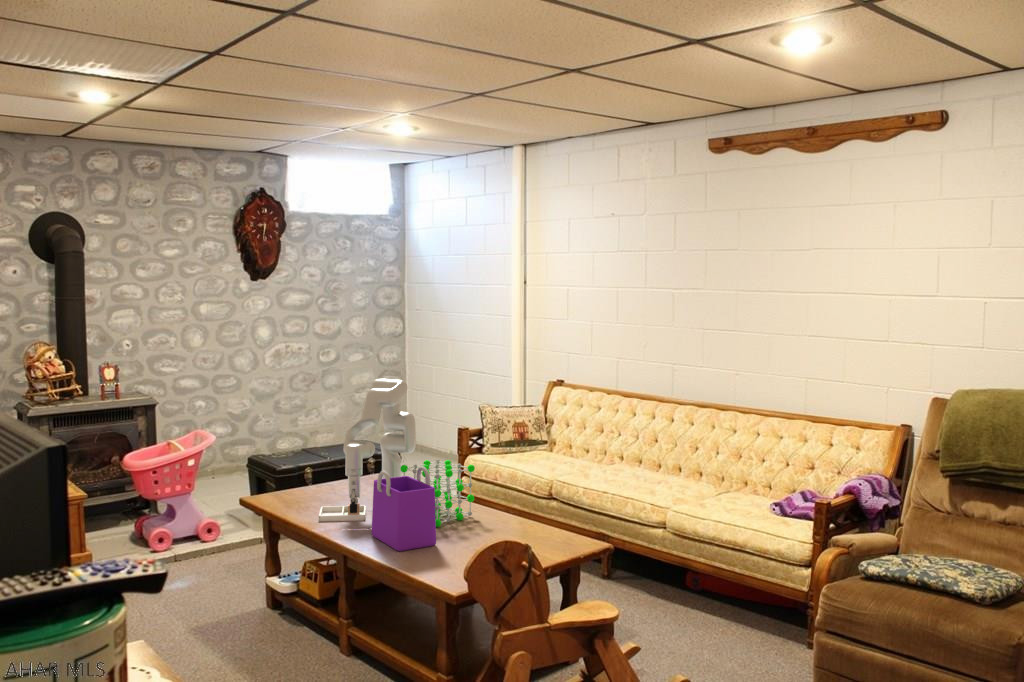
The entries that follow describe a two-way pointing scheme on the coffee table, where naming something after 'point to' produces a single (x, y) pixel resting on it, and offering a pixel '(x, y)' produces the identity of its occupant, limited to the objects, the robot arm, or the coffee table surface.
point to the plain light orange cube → (357, 509)
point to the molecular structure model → (448, 491)
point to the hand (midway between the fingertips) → (353, 510)
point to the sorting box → (340, 514)
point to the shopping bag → (404, 511)
